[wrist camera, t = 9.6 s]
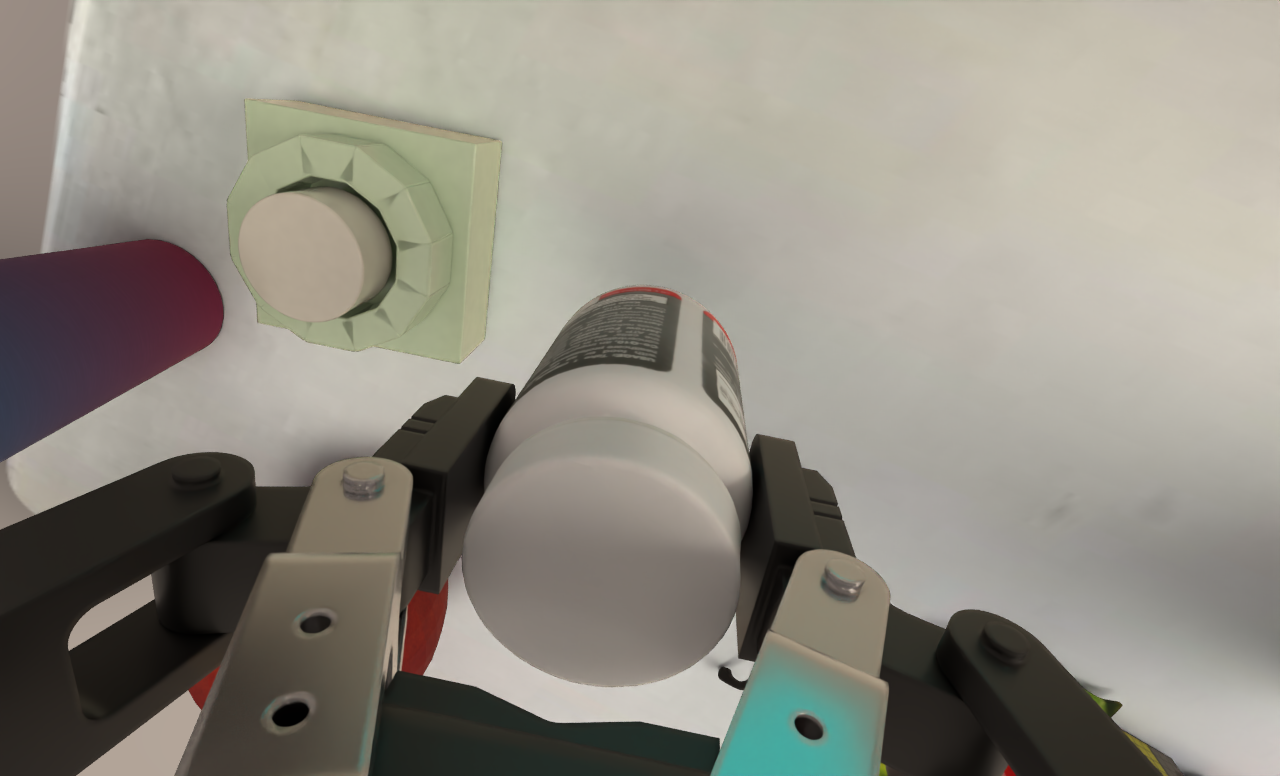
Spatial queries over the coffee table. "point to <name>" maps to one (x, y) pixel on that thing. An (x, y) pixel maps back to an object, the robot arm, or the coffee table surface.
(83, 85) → the coffee table surface
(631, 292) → the pill bottle
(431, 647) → the apple
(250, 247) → the beige button cap
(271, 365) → the coffee table surface
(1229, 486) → the coffee table surface
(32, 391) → the cup
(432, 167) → the button base
